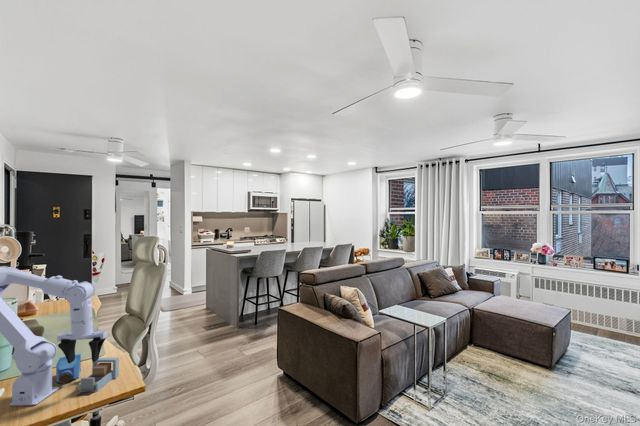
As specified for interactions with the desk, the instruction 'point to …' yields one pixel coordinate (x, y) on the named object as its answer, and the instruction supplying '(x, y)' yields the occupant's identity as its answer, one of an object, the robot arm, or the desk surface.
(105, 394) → the desk surface
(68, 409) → the desk surface
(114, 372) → the arch track
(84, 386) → the sled
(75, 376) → the perfume bottle
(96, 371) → the walnut block
